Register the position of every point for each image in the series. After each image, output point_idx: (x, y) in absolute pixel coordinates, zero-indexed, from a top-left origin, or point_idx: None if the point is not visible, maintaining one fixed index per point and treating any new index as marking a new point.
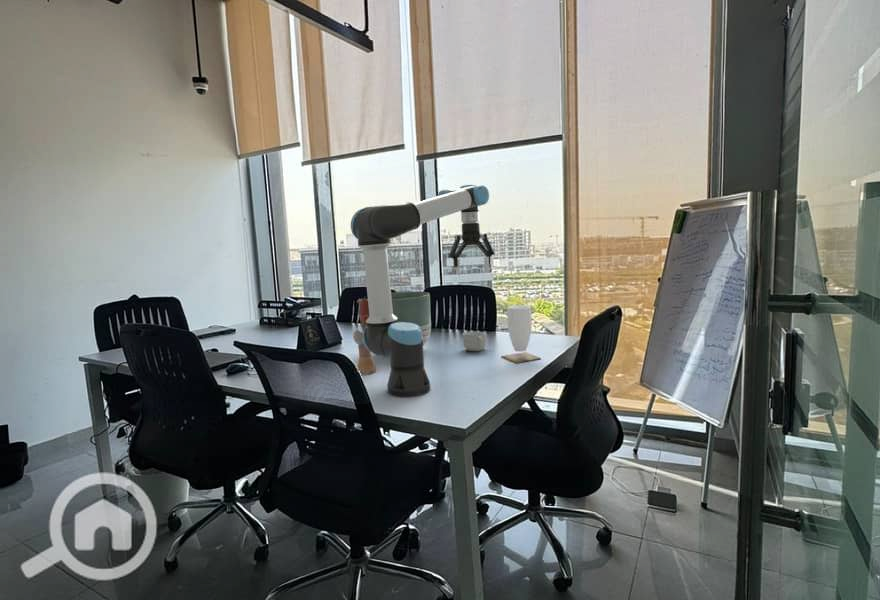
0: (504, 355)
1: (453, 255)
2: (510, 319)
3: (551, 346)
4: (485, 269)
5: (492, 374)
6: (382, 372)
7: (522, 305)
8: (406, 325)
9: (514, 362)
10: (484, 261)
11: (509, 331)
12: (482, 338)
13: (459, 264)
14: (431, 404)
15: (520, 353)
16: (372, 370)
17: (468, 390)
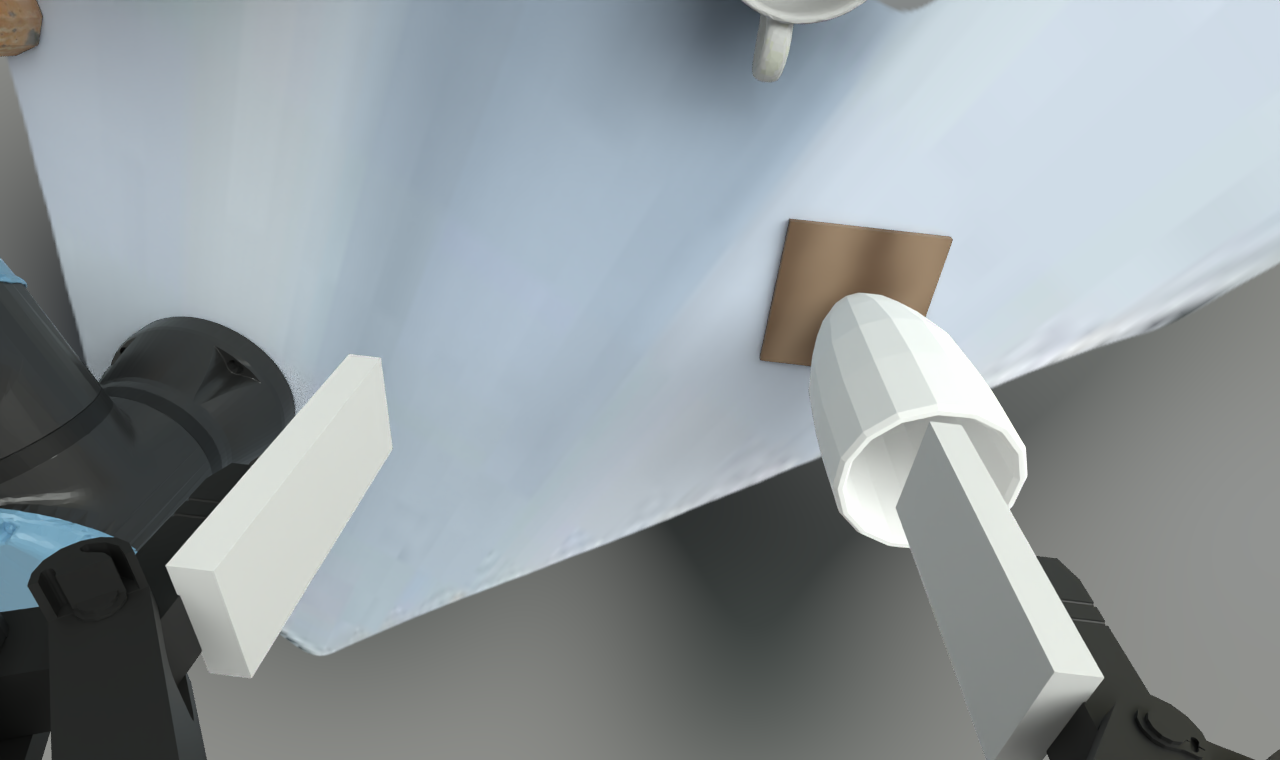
0: (810, 223)
1: (23, 749)
2: (817, 436)
3: (1208, 200)
4: (934, 474)
5: (577, 417)
6: (87, 63)
7: (1012, 449)
8: (6, 574)
9: (762, 348)
10: (1002, 573)
11: (813, 367)
12: (781, 73)
13: (307, 575)
14: None
15: (908, 246)
16: (15, 49)
17: (416, 499)
